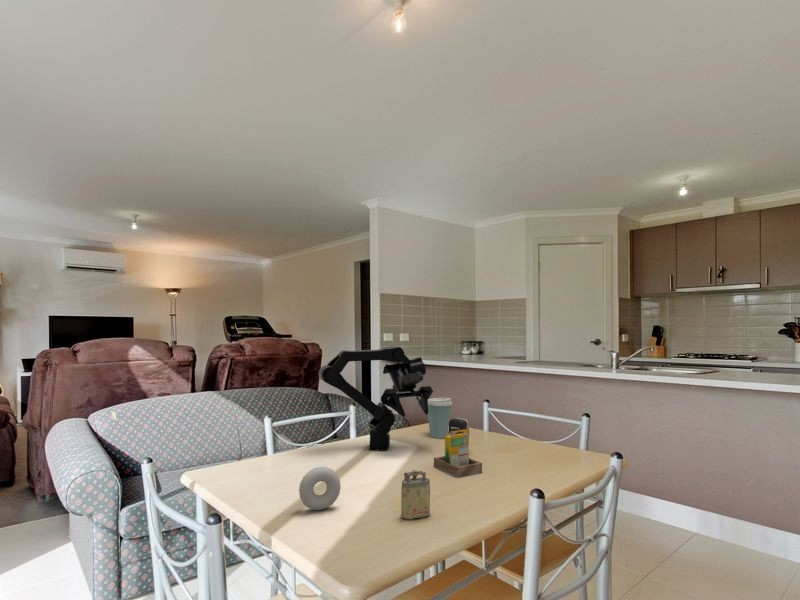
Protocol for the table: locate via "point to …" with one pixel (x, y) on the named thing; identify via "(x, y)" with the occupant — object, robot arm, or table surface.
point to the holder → (459, 471)
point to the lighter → (415, 495)
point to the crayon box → (457, 448)
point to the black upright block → (458, 425)
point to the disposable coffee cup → (439, 416)
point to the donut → (310, 481)
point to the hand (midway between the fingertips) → (416, 415)
